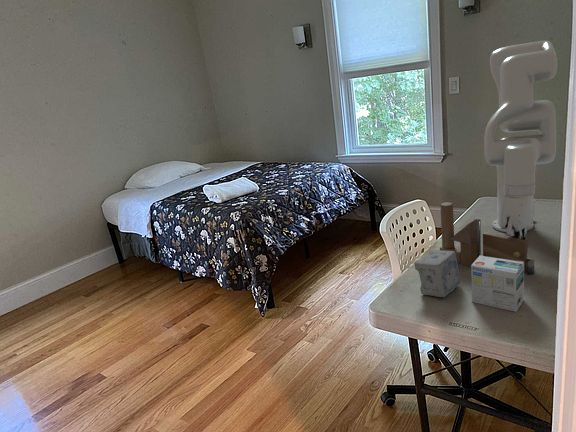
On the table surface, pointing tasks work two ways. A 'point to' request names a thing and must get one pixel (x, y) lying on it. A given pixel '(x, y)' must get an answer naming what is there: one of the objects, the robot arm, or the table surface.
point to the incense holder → (438, 273)
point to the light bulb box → (498, 282)
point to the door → (505, 248)
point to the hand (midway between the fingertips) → (518, 249)
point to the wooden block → (458, 236)
